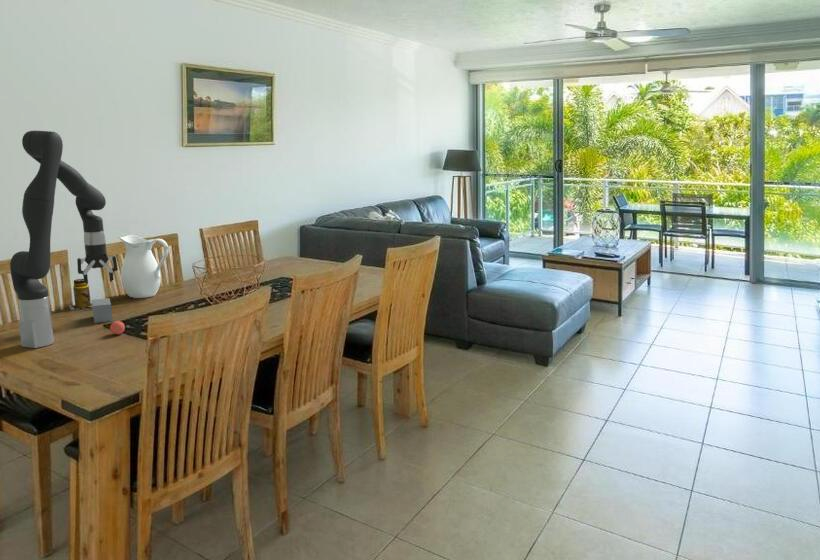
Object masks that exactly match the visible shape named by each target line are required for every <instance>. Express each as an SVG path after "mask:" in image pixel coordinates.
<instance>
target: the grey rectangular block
mask: <svg viewBox="0 0 820 560" xmlns="http://www.w3.org/2000/svg"><path fill="white" fill-rule="evenodd" d="M91 305H92V307H91V309H92V315H93V322H94V324H98V323H99V322H100V323H105V322H107V321H108V322H113V321H114V320H113V311H112V303H111V298H109V297H108V298H107V297H106V298H99V299H98V298H97V299H91Z"/></svg>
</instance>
